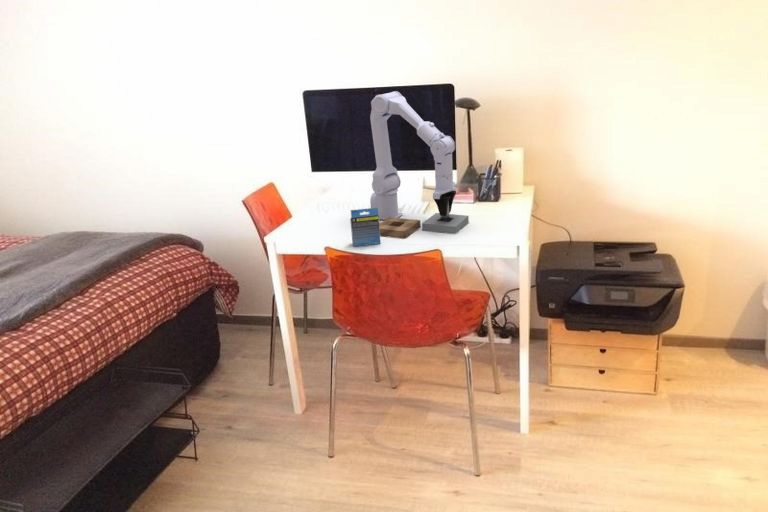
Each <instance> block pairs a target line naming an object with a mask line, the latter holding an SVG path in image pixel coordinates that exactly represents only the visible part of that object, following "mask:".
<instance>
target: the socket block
mask: <svg viewBox="0 0 768 512" xmlns="http://www.w3.org/2000/svg"><path fill="white" fill-rule="evenodd" d="M420 228H422V224H421V220H420V219H414V218H402V217H398V218H392V217H389V218H387V219H385V220H382V221H381V222H379V229H380V235H382V236H381V237H387V236H391V237H390V238H396V237H397V239H406V238H408V237H410V235H412V234H413V233H415V232H416V231H418V230H419V229H420Z"/></svg>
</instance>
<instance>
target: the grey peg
mask: <svg viewBox="0 0 768 512" xmlns="http://www.w3.org/2000/svg"><path fill="white" fill-rule="evenodd" d="M449 214H450V213H449V202H448V207H447V215H446V216H440V217H441V221H443V222H450V220H449Z"/></svg>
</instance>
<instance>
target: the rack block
mask: <svg viewBox="0 0 768 512" xmlns="http://www.w3.org/2000/svg"><path fill="white" fill-rule="evenodd" d="M469 218H470V217H469V215H465V214H464V215H463V214H454V213H453V214H452V213H449V220H450V222H443V221H441V217H440V213H439V212H435V213H433V214H432V215H431V216H430V217H428V218H427V219H426V220H425V221H423V222H422V223H421V231H425V232H435V233H443V232H447V233H446V234H452V233H456V232H457V233H458V232H460V231H461V230H462V229H463V228H464V227H465V226H467V225H468V224H469V220H470V219H469ZM460 229H461V230H460ZM459 230H460V231H459ZM457 233H456V234H457Z"/></svg>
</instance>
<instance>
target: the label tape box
mask: <svg viewBox="0 0 768 512" xmlns="http://www.w3.org/2000/svg"><path fill="white" fill-rule="evenodd" d="M364 212H365V213H366V214H365V213H364ZM362 213H364V214H362ZM349 220H350V233H351V240H352V241H351V242H352V244H353V245H352V246H353V247H354V248H355V247H362V246H369V245H379V244H381V236H380V229H379V223H380V219H379V215H378V208H371V207H370V208H359V209H350V218H349Z"/></svg>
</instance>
